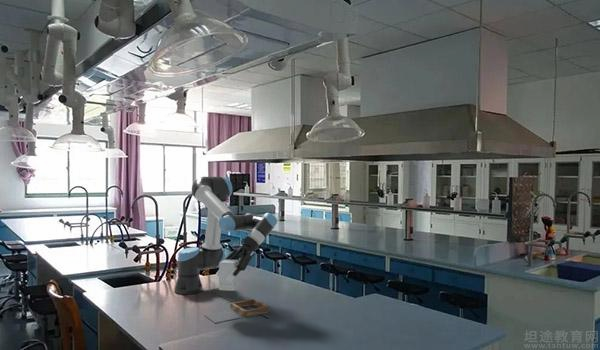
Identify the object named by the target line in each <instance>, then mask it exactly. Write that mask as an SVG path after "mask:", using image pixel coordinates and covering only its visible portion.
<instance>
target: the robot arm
mask: <svg viewBox="0 0 600 350" xmlns="http://www.w3.org/2000/svg"><path fill="white" fill-rule="evenodd" d="M191 194H192V196H193V197H194V199H196V201H198V202H201V204H203V205H204V206H205V208H206V209H207V215H206V216H207V217H206V227H205V238H204V242H203V243H202V244H201V249H200V247H196V246H195V247H194V246H193V247H187V248H183V249H181V250H180V251H179V252H178V255H177V279H176V282H175V285H174V288H173V289H174V290H173V291H174V293H175V292H176V293H175V294H179V295H191V294H192V295H193V294H194V295H195V294H197V293H201V292H203V283H202V281H201V277H200V271H203V270H211V269H213V270H214V269H217V268H219V262H221V261H223V260H225V259H227V260H239V263H238V266H236V267H237V268H236V267H235V268H234V270H233V271H232V272H231V273H230V275H229V276H228V277H227V278H226V279H227V280H228V281H229V282H230V283H231V282H232V281H233V279H234V278H235V277H236V276H237V274H238V273H239V274H240V272H242V271H243V272H244V271H245V270H246V269H247V266H248V265H249V264H250V262H251V260H252V258H253V257H254V256H255V255H256V253H255V252H256V250H258V248H259V247H260V246H261V244H263V242H264V241H265V239H266V238H267V237H268V236H269V234H270V233H271V232H272V230H273V229H274V228H275V226H276V225H277V224H278V219H277V218H276V216H275V215H274V214H272V213H270V212H266V213H264V214H263V215H258V214H255V213H254V212H253V213H250V212H249V213H248V212H247V213H246V214H240V215H237V214H235V213H234V212H233V211H232V210H231V209H229V207H227V205H226V204H225V203H227V202H228V198H230V197H231V196H232V194H233V185H232V182H231V180H230V179H229V178H228V177H226V176H200V177H198V178H196V179H195V180H194V182H193V184H192V185H191ZM248 230H250V232H249V233H248V234H247V236H245V238H244V239H243V240H242V246H239V245H237V246H236V247H235V249H234V250H232V251H231V252H230V254H229V255H228V256H227V257H226V251H225V249H224V248H223V246H222V244H221V234H222V232H225V233H228V232H229V233H231V232H239V231H248ZM215 275H216V276H217V278H219V270H217V272H216V273H215Z"/></svg>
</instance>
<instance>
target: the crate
mask: <svg viewBox="0 0 600 350" xmlns="http://www.w3.org/2000/svg"><path fill="white" fill-rule="evenodd" d="M229 304H230V305H229V306H230V310H232V311H234V312H236V313H237V314H238V315H241V316H242V317H244V318H248V317H253V316H256V315H257V316H258V315H262V314H267V313H270V306H269V305H267V304H265V303H263V302H261V301H259V300H257V299H255V298H251V299H247V300H240V301H236V302H230V303H229ZM248 306H249V307H250V306H255V307H256V308H252V309H244V307H248Z"/></svg>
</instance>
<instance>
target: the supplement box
mask: <svg viewBox="0 0 600 350" xmlns="http://www.w3.org/2000/svg"><path fill="white" fill-rule="evenodd" d="M239 261H240V259H237V260H227V259H225V260H223V261H221V262H219V267H218V271H219V277H218V290H219V291H229V292H231V291H233V292H234V291H235V290H237V288H239V287H240V285H239V284H240V272H239V273H238V274H237V276H236V277H235V278H234V279H233V281H232V282H231V283H230V282H229V281H228V280H227V279H226V278H227V277H228V276H229V275H230V273H231V272H232V271H233V270H234V268H235V267H236V266H238V263H239ZM236 268H237V267H236Z"/></svg>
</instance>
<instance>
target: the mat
mask: <svg viewBox="0 0 600 350" xmlns="http://www.w3.org/2000/svg"><path fill="white" fill-rule="evenodd" d="M203 316H204V317H206V318H207V319H208V320H209V321H211V322H212V323H214V324H220V323H225V322H228V321H233V320H238V319H240V318H241V317H240V316H238V315H237V314H235V313H233V312H232V311H230V310H224V311H217V312H213V313H207V314H204V315H203Z"/></svg>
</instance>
